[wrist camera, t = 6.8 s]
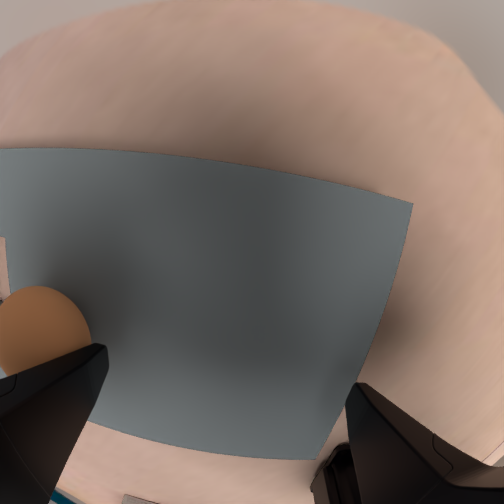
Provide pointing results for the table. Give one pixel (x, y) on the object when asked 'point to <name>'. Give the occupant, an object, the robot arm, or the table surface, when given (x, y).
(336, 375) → the notched base with backboard
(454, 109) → the table surface
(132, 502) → the light bulb box
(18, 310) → the ball
